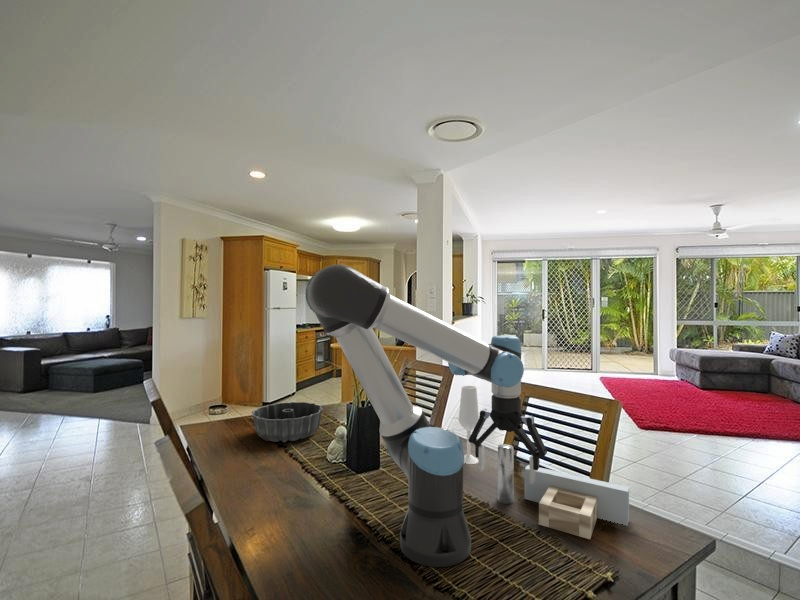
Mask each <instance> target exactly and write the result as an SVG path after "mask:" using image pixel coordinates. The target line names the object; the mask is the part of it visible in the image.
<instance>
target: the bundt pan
mask: <svg viewBox="0 0 800 600" xmlns="http://www.w3.org/2000/svg"><path fill="white" fill-rule="evenodd" d="M323 411H324V408H322V405H321V404H320V405H319V404H316V403H315V402H314V403H312V402H306V401H298V402H297V401H290V402H278V403H274V404H273V403H272V404H267V405H266V406H265V405H264V406H260V407H258V408H256V409H255V410H252V411H251V417H252V418H253V424H254V428H255V432H256V434H257V436H258V437H260V438H262V440H264V441H267V442H274V443H278V442H282V443H286V442H287V441H290V442H296V441H298V440H305V439H306V438H308V437H311V436H313V434H315V432H317V431H318V429H319V427H320V426H321V420H322V412H323Z"/></svg>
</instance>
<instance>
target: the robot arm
mask: <svg viewBox="0 0 800 600" xmlns="http://www.w3.org/2000/svg"><path fill="white" fill-rule="evenodd" d="M305 300H306V303H307V306H308V307H309V309H310V310H311V311H312V313H314V315H315V317H316V318H317V320H318V323H320V325H321V327H322V329H323V330H324V332H325V333H324V334H326V335H328V336H331V337H334V338H335V339H336V341H337V343H338V345H339V347H340V348H341V350H342V352H343V354H344V355H345V358H346V360H347V361H348V363H349V365H350V367H351V369H352V370H353V372H354V374H355V377H356V378H357V380H358V381H359V383H360V385H361V387H362V389H363V390H364V391H363V392H364V393H365V395H366V396H367V398H368V400H369V402H370V404H371V406H372V407H373V410H374V411H375V413H376V415H377V416H378V419H379V421H380V423H381V424H380V426H379V429H378V430H379V434H380V436H381V437H382V440H383V441H384V443H385V447H386V450H387V453H388V455H389V456H390V458H391V459H392V460H393V461H394V463H396V465H397V466H398V467H399V469H400V470H401V471H402V473H403V474H404V475H405V476H406V477H407V481H408V484H407V485H408V487H407V488H408V492H407V493H408V498H407V499H408V500H407V501H408V503H407V504H408V505H407V506H408V507H407V510H406V513H405V516H404V519H403V523H402V525H401V528H400V532H399V547H400V548H399V549H400V550H401V552H402V554H403V555H404V556H405V557H406V558H407V559H409V560H411V561H413V562H414V563H416V564H419V565H421V566H426V567H432V568H445V567H446V568H447V567H453V566H456V565H458V564H461V563H462V562H463V561H465V560H466V559H467V558H469V556H470V554H471V552H472V537H471V536H472V535H471V532H470V529H469V525H468V522H467V519H466V517H465V516H466V515H465V513H464V464H465V463H464V455H465V453H464V445H463V441H462V439H461V438H460V437H459V436H458V435H457V434H456V432H453V431H451V430H449V429H444V428H442V427H438V426H437V427H436V426H431V424H430V423H429V420H428V419H427V416H426V415H425V413H424V410H423V409H422V407H420V406H418V405H414V404H413V403H412V401H411V400H410V398H409V395H408V394H407V392H406V390H405V388H404V386H403V384H402V382H401V380H400V378H399V376H398V375H397V372H396V371H395V369H394V367H393V365H392V363H391V361H390V360H389V359H390V358H389V357H388V356H387V354H386V351H385V350H384V348H383V346H382V343H381V342H380V340H379V338H378V336H377V334H376V332H375V331H374V329H375V330H378V331H381V332H383V333H385V334H387V335H389V336H390V337H393V338H396V339H398V340H400V341H402V342H404V343H407V344H408V345H410V346H412V347H415V348H417V349H419V350H421V351H423V352H424V353H425V352H426V353H428V354H429V355H432V356H434V357H436V358H439V359H441V360H442V361H445V362H447V365H448V368H449V370H450V373H452V375H454V376H463V377H465V376H473V377H476V378H478V379H481V380H483V381H487V382H489V383H491V393H492V395H491V411H490V410H488V409H487V408H483V409H482V410H480V411H479V420H478V422H477V424H476V426H475V428H474V429H473V430H472V431H471V436H470V438H469V442H470V444H471V443H472V444H473V445H474V447H475V449H474V450H475V453H474V454H475V456H474V457H475V458H477V459H478V460H479V462H478V472H481V473H482V472H483V471H484V470H485V469H486V456H485V455H486V444H484V443H483V442H484V441H485V440H486V439H487V438H488V437H489V436H490V435H491V434H492V433H493V432H494V431H495V430H496V429H498V430H499V431H506V432H508V433H511V432H513V433H514V434H515V435H516V436H517V437H518V438H519V440H520V441H521V443H522V444H523V445H524V446H525V448H526V450H527V451H528V452H529V453H530V454H531V455H530V457H529V465H530V484H533V483H534V481H535V470H538V469H539V467H540V458H541V457H542V458H545V457H546V455H547V454H548V451H547V448H546V446H545V444H544V442H543V440H542V438H541V436H540V433H539V431H538V429H537V427H536V425H535V418H534V416H533V415H529V416H523V414H522V397H521V396H520V395H521V394H522V378H523V375H524V372H525V368H524V364H523V361H522V354H523V353H522V345H521V344H522V343H521V339H520V338H519V337H518V336H515V335H493V336H492V337H491V342H490V343H487V342H486V341H484V340H481V339H480V338H477V337H476V336H473V335H472V334H469V333H468V332H465V331H464V330H461V329H459V328H457V327H455V326H453V325H451V324H450V323H447V322H446V321H444V320H441V319H439V318H437V317H435V316H433V315H432V314H429V313H427V312H426V311H424V310H421V309H420V308H417V307H416V306H413V305H412V304H410V303H407V302H405V301H403V300H401V299H399V298H398V297H396V296H394V295H392V294H391V293H390V289H389V288H388V287H387V286H385V285H382V284H380V282H377V281H376V280H374V279H372V278H370V277H368V276H366V275H365V274H364V273H361V272H360V271H358V270H357V269H355V268H353V267H351V266H348V265H346V264H345V265H344V264H332V265H328V266H326V267H324V268H322V269H320V270H318V271H316V272H315V273H314V274H313V275H312V276H311V277H310V279H309V280H308V281H307V284H306V288H305ZM489 418H490V419H491V420H492V424H491V425H490V426H489V427H488V428H487V429H486V430H485V431H484V432H483V433H482V435H480V436H479V434H480V432H481V430H482V428H483V426H484V424H485V422H486V420H487V419H489ZM522 422H523V423H524V425H525V426H526V427H527V430H528V432H529V434H530V436H531V439H532V440H531V439H530V437H529V436H528V434H527V433H526V431H525V430H524V428H523V426H522V425H521V423H522ZM478 436H479V438H478Z"/></svg>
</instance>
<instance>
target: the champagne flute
mask: <svg viewBox="0 0 800 600" xmlns="http://www.w3.org/2000/svg"><path fill="white" fill-rule="evenodd" d="M459 401H460V402H459V411H458V412H459V413H458V422H459V424H460V426H461V427H462V428H463V429H464V430H466V454H464V464H465V463H466V464H465V465H473V464H474V465H475V464H479V458H477V457H476V456H474V455H472V454H471V443H470V442H469V438H470V436H471V434H472V431H473V430H474V428H475V426H476V424H477V422H478V420H479V416H480V411H479V402H478V401H479V400H478V391H477V386H476V385H475V386H474V385H462V386H461V393H460V400H459Z"/></svg>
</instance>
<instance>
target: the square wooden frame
mask: <svg viewBox="0 0 800 600" xmlns="http://www.w3.org/2000/svg"><path fill="white" fill-rule="evenodd" d="M597 519H598V518H597V497H596V496H592V495H587V494H583V493H579V492H575V491H571V490H567V489H562V488H558V487H554V486H549V488H548V489H547V491H546V493H545V494H544V496H543V497H542V499H541V501H540V502H539V503H538V525H539V526H542V527H546V528H549V529H552V530H556V531H559V532H563V533H565V534H566V533H567V534H571V535H574V536H576V537H577V536H578V537H580V538H584V539H587V540H591V538H592V535H593V531H594V528H595V526H596V522H597Z"/></svg>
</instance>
